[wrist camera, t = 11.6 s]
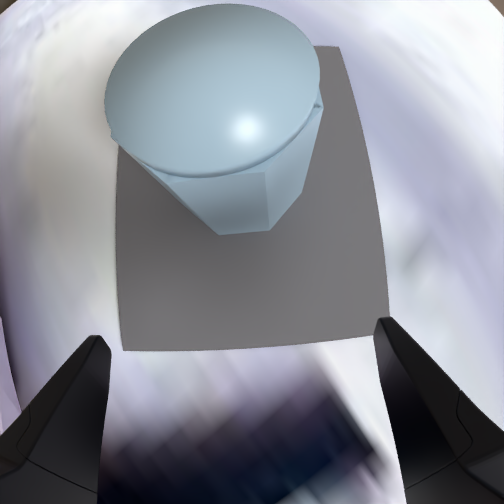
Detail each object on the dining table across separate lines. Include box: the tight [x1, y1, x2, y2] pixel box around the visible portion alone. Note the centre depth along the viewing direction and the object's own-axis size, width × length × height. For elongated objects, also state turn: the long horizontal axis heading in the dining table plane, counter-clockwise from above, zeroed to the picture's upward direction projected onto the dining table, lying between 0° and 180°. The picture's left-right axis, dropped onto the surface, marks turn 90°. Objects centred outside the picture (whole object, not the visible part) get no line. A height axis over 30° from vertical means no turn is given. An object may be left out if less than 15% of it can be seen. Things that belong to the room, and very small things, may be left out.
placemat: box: [116, 47, 390, 351], centre depth 19 cm, size 20×16×1 cm
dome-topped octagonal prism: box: [104, 4, 324, 235], centre depth 14 cm, size 7×7×10 cm
